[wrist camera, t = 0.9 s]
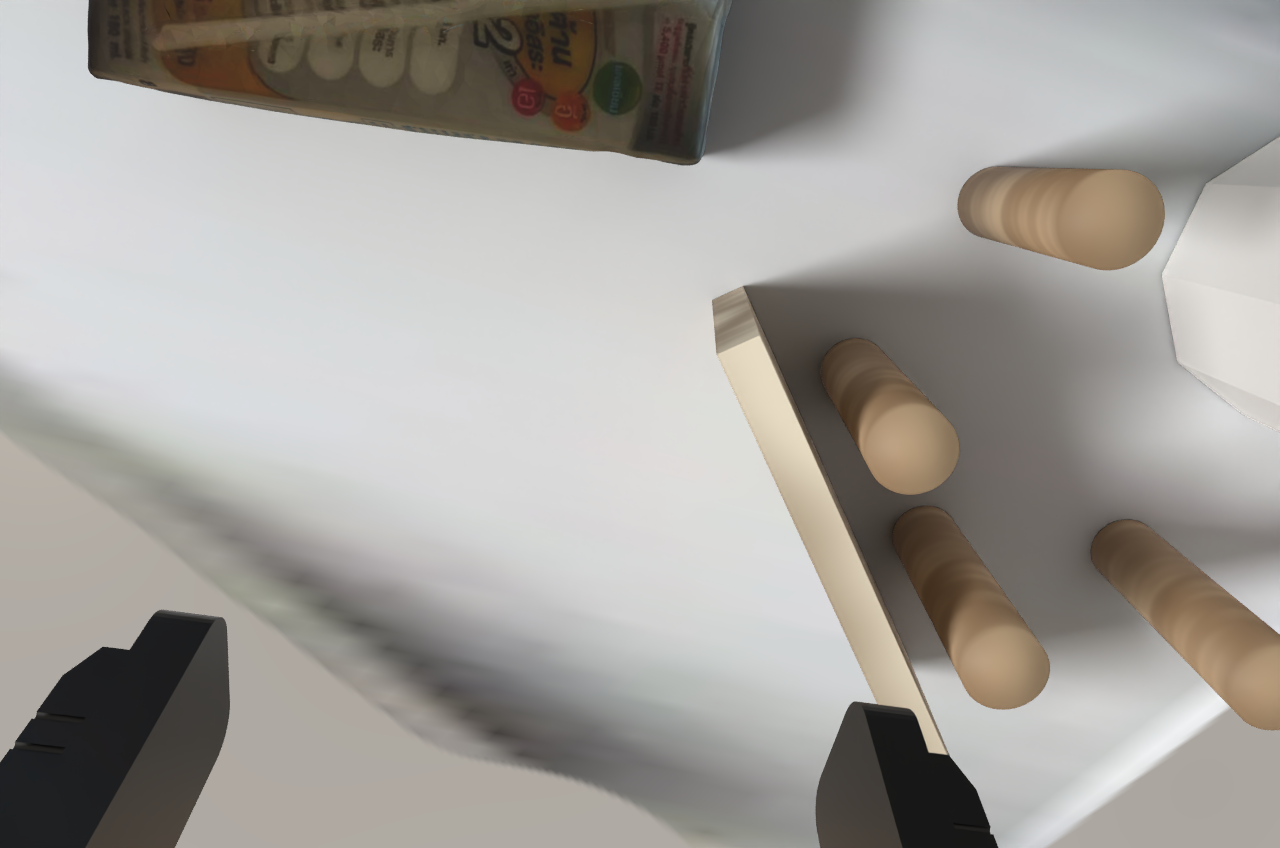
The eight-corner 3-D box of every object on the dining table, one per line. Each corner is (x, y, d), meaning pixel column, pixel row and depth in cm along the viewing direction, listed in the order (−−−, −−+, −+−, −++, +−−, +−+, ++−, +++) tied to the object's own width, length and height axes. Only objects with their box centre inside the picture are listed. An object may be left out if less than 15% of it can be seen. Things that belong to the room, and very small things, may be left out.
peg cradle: (1015, 154, 33) (1146, 152, 23) (1165, 564, 36) (1334, 712, 26) (709, 295, 34) (713, 347, 25) (881, 672, 38) (942, 846, 28)
